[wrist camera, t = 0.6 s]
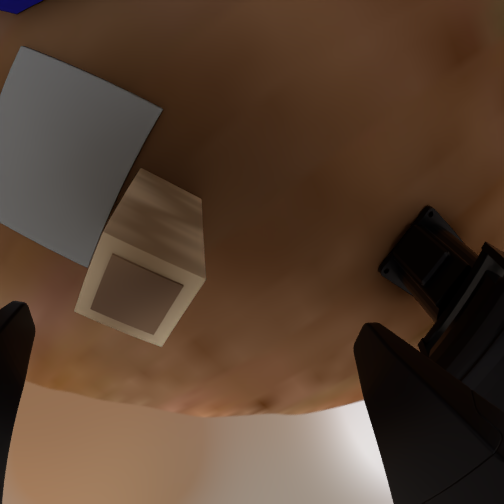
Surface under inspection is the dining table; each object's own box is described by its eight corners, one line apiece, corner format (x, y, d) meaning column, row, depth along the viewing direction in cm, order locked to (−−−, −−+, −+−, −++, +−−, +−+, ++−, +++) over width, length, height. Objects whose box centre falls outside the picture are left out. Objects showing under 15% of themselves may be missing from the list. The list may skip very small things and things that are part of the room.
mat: (163, 109, 15) (162, 109, 15) (89, 264, 19) (87, 268, 18) (24, 46, 11) (21, 45, 11) (-25, 204, 15) (-28, 206, 14)
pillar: (201, 199, 18) (206, 280, 11) (170, 252, 19) (161, 348, 12) (140, 167, 16) (102, 233, 10) (113, 224, 18) (73, 312, 11)
